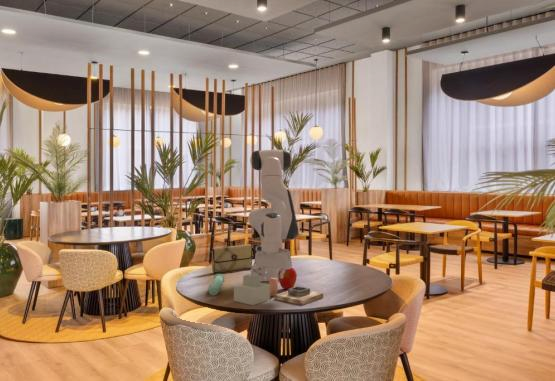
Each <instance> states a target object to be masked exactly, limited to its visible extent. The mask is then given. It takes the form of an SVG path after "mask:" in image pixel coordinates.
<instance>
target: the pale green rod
mask: <svg viewBox="0 0 555 381" xmlns="http://www.w3.org/2000/svg"><path fill="white" fill-rule="evenodd" d="M224 282H225V276H224V275H223V274H222V273H217V274H215V275H214V276H213V280H212V282H211V283H210V286H209V288H208V293H209V294H210V296H217V295H218V294H219V292H220V290H221V288H222V285H223V283H224Z"/></svg>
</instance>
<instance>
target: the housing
mask: <svg viewBox="0 0 555 381" xmlns="http://www.w3.org/2000/svg"><path fill="white" fill-rule="evenodd" d="M242 282H243V283H240V284H235V285H233V302H237V303H242V304H245V305H249V306H255V305H258V304H261V303H264V302H267V301H270V300H271V296H270V285H269V283H262V282H261V281H260V277H257V276H252V275H248V274H246V275H242Z"/></svg>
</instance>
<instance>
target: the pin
mask: <svg viewBox="0 0 555 381" xmlns="http://www.w3.org/2000/svg"><path fill="white" fill-rule="evenodd" d="M268 284H269V285H270V297H275V295H276V294H279V289H278V288H279V287H278V286H279V281H278V278H269V281H268Z"/></svg>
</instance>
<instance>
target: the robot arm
mask: <svg viewBox="0 0 555 381" xmlns="http://www.w3.org/2000/svg"><path fill="white" fill-rule="evenodd" d="M249 161H250V165H251V168H252V169H254V170H255V171H260V184H261V186H260V188H261V190H260V191H261V192H260V194H261V198H262V199H263V200H264V201H266V202H268V203H270V204H272V206H273V207H271V208H270V207H267V208H266V207H263V208H262V207H261V208H260V207H259V208H254V209H252V210H251V211H250V212H249V213H248V216H247V220H248V223H249V225H250V226H251V227H252V228H253V229H255V231H256V232H257V233H258V235H259V238H260V241H261V244H260V245H256V246H255V251H256V252H255V257H254V263H255V264H254V263H253V264H252V267H251V268H250V273H249V274H247V275H252V276H257V277H260V282H269V278H278V273H279V270H280V271H281V273H280V274H279V278H281V279H282V278H283V274H284V273H285V270H287V269H291V268H293V266H292V262H293V261H292V257H291V251H290V250H289V249H287V248H283V240H292V241H293V240H295V239H296V238H297V237H298V236H299V234H300V227H299V223H298V221H297V217H296V212H295V211H296V210H295V207H294V203H293V198H292V197H293V196H292V193H291V191H290V189H289V187H287V186H285V184H284V180H283V178H284V177H283V172H285V171H287V170H289V169H290V168H291V166H292V162H293V156H292V154H291V151H289V150H287V149H274V148H273V149H263V150H255V151H253V152H252V153H251V155H250V160H249ZM278 282H279V279H278Z"/></svg>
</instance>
